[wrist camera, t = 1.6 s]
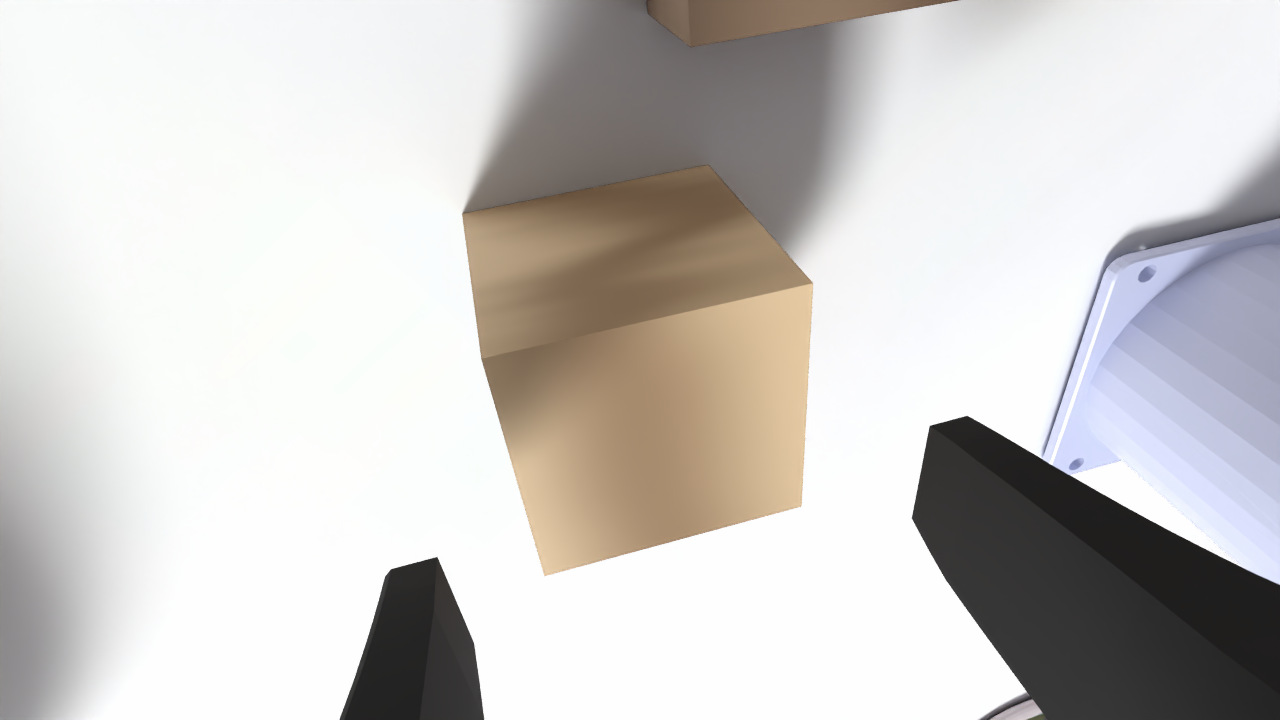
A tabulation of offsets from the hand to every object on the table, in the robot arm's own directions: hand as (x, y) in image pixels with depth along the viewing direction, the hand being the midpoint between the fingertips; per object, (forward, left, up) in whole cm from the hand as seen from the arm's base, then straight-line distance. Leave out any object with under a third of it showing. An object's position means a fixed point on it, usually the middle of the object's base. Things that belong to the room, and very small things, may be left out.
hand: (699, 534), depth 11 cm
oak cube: (0, 0, -7) cm, 7 cm away
